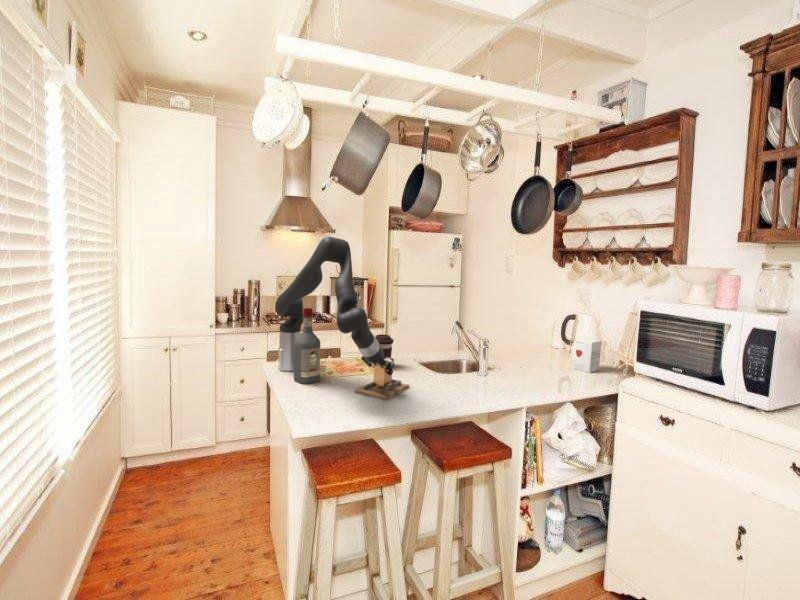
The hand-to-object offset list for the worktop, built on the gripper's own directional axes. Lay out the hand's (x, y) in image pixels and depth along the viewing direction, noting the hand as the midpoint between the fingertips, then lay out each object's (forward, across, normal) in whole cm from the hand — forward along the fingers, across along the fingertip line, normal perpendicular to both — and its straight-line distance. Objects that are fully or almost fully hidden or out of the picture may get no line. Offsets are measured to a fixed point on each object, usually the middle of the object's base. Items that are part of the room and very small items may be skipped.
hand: (385, 372), depth 175 cm
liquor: (-2, +32, +12) cm, 34 cm away
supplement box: (+64, -64, -55) cm, 106 cm away
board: (+4, 0, +6) cm, 7 cm away
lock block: (+2, 0, +4) cm, 5 cm away
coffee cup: (+23, +18, -14) cm, 32 cm away
